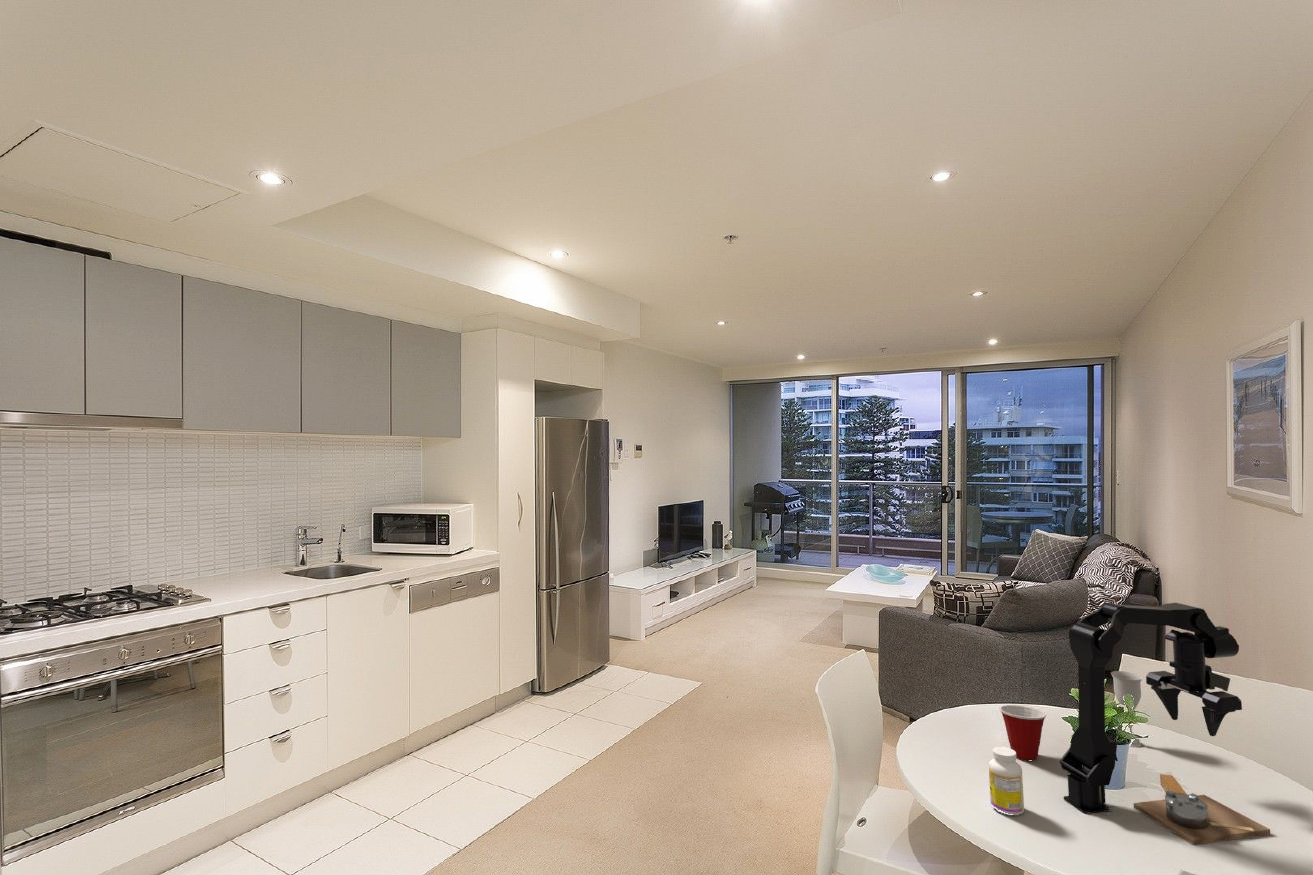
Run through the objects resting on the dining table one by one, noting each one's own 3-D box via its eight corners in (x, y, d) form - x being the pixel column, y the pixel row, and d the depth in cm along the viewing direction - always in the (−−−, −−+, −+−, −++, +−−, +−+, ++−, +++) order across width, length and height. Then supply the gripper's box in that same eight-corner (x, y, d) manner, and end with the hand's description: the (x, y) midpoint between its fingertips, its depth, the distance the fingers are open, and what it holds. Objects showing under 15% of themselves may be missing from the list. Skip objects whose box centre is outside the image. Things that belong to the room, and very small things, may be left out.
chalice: (1107, 738, 180) (1104, 671, 180) (1131, 736, 181) (1127, 670, 181) (1129, 749, 173) (1125, 680, 173) (1153, 747, 173) (1149, 679, 174)
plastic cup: (1049, 752, 173) (1047, 706, 173) (1048, 769, 164) (1045, 720, 164) (1003, 743, 179) (1000, 699, 179) (999, 759, 170) (997, 713, 170)
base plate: (1193, 844, 131) (1193, 839, 131) (1133, 807, 145) (1133, 802, 145) (1270, 834, 134) (1270, 829, 134) (1204, 799, 148) (1204, 794, 148)
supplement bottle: (996, 798, 151) (993, 741, 152) (1028, 808, 146) (1025, 750, 147) (986, 809, 147) (983, 751, 147) (1018, 820, 142) (1015, 760, 142)
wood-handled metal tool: (1214, 831, 134) (1213, 809, 134) (1172, 824, 136) (1171, 803, 136) (1186, 793, 148) (1184, 774, 148) (1148, 788, 151) (1147, 769, 151)
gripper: (1261, 669, 144) (1266, 741, 143) (1182, 645, 162) (1186, 709, 162) (1217, 673, 142) (1221, 746, 142) (1142, 649, 161) (1146, 713, 160)
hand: (1193, 727), depth 151 cm, fingers open, 9 cm apart
